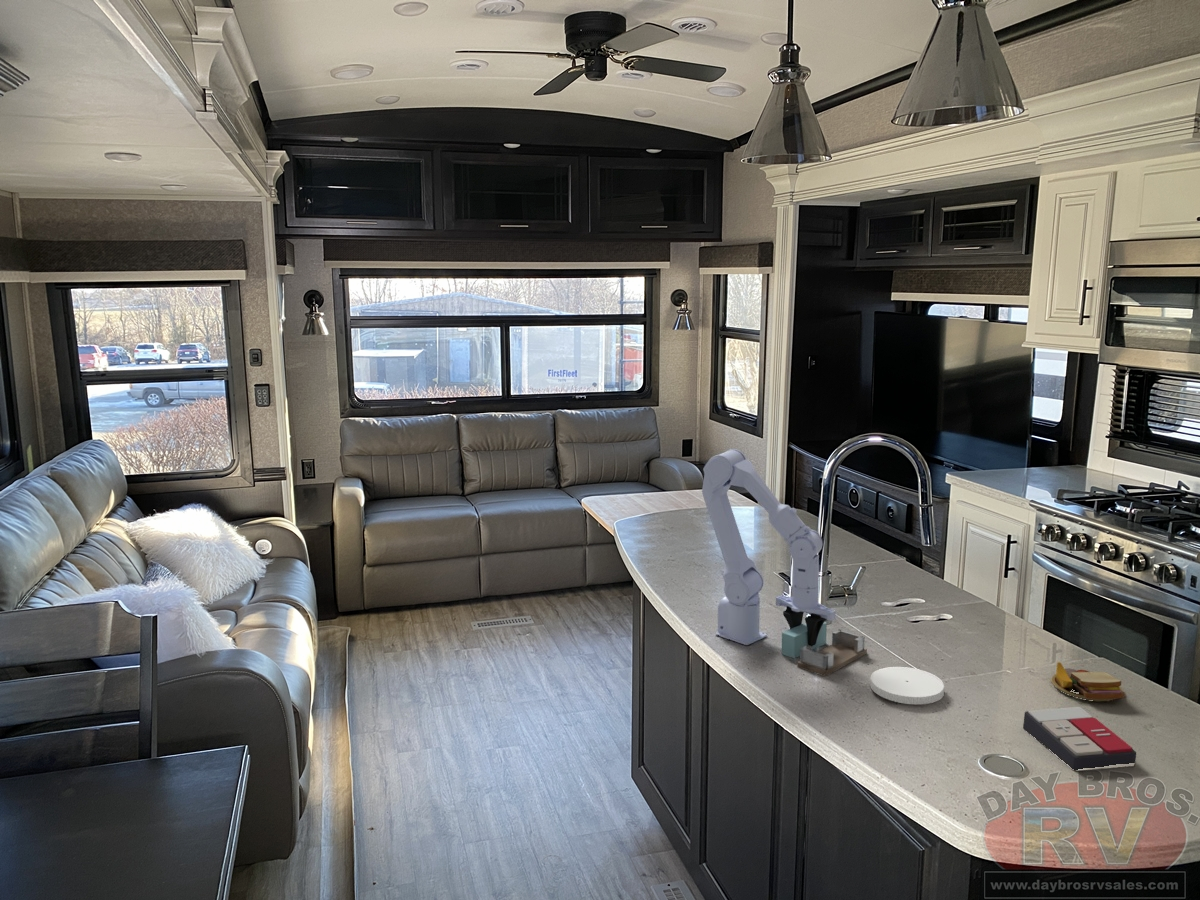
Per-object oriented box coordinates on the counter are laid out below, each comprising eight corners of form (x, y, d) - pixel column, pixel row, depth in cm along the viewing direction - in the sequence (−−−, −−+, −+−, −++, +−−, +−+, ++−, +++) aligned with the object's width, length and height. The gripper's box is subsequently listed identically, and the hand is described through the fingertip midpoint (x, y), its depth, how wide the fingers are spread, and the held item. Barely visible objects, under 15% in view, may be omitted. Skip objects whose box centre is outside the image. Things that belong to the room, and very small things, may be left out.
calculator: (1076, 753, 146) (1023, 707, 161) (1073, 777, 147) (1021, 728, 162) (1138, 748, 147) (1080, 702, 162) (1135, 771, 148) (1078, 724, 163)
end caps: (800, 661, 190) (800, 648, 190) (838, 641, 200) (839, 629, 200) (825, 670, 185) (826, 657, 185) (864, 649, 196) (864, 636, 195)
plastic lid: (876, 707, 171) (876, 695, 171) (865, 676, 185) (865, 665, 185) (951, 710, 170) (952, 698, 169) (934, 679, 183) (935, 667, 183)
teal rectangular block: (781, 653, 197) (781, 632, 196) (813, 639, 205) (814, 618, 204) (794, 658, 194) (794, 636, 193) (826, 643, 202) (826, 622, 201)
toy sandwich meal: (1110, 679, 181) (1112, 657, 180) (1133, 709, 168) (1135, 686, 167) (1044, 674, 184) (1045, 653, 183) (1061, 704, 171) (1063, 681, 170)
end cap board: (797, 666, 190) (797, 662, 190) (839, 644, 201) (839, 640, 201) (825, 676, 185) (825, 671, 185) (866, 653, 196) (866, 649, 196)
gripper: (767, 582, 199) (767, 638, 202) (823, 597, 189) (822, 656, 191) (786, 574, 204) (785, 630, 206) (841, 589, 194) (839, 647, 196)
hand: (804, 642), depth 199 cm, fingers closed on teal rectangular block, 3 cm apart
